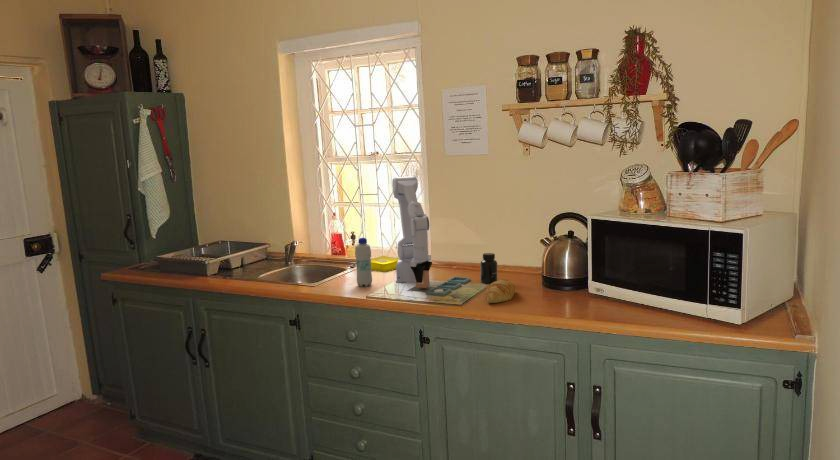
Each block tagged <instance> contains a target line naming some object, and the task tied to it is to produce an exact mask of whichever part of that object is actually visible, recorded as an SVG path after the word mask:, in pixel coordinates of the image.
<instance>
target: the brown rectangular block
mask: <svg viewBox="0 0 840 460" xmlns="http://www.w3.org/2000/svg"><path fill="white" fill-rule="evenodd" d="M430 284H431V283H430V270H429V271H427V270H424V271H423V280H422V283H417V282H416V283H415V286H416V287H421V288H426V287H428V286H431V285H430Z"/></svg>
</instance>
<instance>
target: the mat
mask: <svg viewBox="0 0 840 460" xmlns="http://www.w3.org/2000/svg"><path fill="white" fill-rule="evenodd" d="M432 288H437V286H431V285H430V286H428V287H426V288H421V287H416V285H414V286H413V287H411V288H409V289H407V292H419V293H426V292H427V291H429V290H430V289H432Z"/></svg>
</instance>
